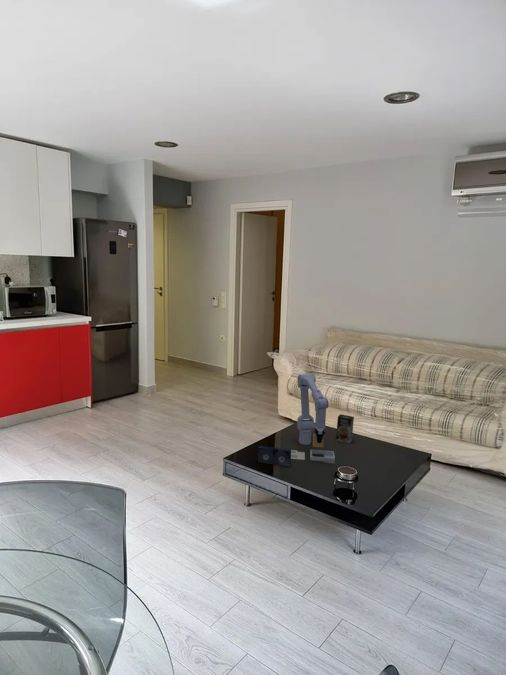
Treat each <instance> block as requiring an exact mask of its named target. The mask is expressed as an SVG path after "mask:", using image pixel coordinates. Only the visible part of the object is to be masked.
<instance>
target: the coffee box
mask: <svg viewBox="0 0 506 675" xmlns="http://www.w3.org/2000/svg"><path fill="white" fill-rule="evenodd" d="M354 421H355V417H354V416H351V415H347V414H341V413H340V414H339V415H338V416H337V421H336V422H337V423H336V433H335V434H336V435H335V436H336V438H335V441H336V442H341V443H344V444H350V443H352V441H353V432H354Z"/></svg>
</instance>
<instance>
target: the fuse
mask: <svg viewBox="0 0 506 675" xmlns="http://www.w3.org/2000/svg"><path fill="white" fill-rule="evenodd" d="M324 440H325V435H324V436H323V438H322V442H321V443H317V436H316V434H315V432H313V434H312V447H313V448H315V447H316V448H324Z"/></svg>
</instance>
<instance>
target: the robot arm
mask: <svg viewBox="0 0 506 675" xmlns="http://www.w3.org/2000/svg"><path fill="white" fill-rule="evenodd" d="M316 380H317V379H316V375H315V373H310V374H308V373H307V374H304V373H303V374H301V373H300V374H298V376H297V388H299V390H300V405H301V406H300V407H301V408H300V409H301V410H300V412H301V414H300V415H299V416H298V417H297V422H296V428H297V430H298V431H299V434H298V435H299V436H298V443H299V444H301V445H303V446H305V445H306V446H307V445H310V444H311V443H312V432H313V430H315V431H314V433H315V434H316V436H317V443H321V442H322V438H323V436H324V437H325V434H326V431H325V430H326V421H327V420H326V416H327V409H328V408H329V400H328V398H327V397H325V396H324V394H323V393H322V391H321V390H320V389H319V388H318V387H317V385H316ZM309 390H310V391H311V393H310V394H311V397H312V399H313V401H314V411H315V417H313V416H312V415H311V414H310V399H309V398H310V394H309ZM314 418H315V419H314Z"/></svg>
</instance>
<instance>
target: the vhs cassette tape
mask: <svg viewBox="0 0 506 675" xmlns="http://www.w3.org/2000/svg"><path fill="white" fill-rule="evenodd" d="M291 450H292V449H286V448H279V447H271V446H264V445H258V448H257V463H261V464H267V465H275V466H283V467H288V468H290V467H291V463H292V462H291V460H292V459H291Z"/></svg>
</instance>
